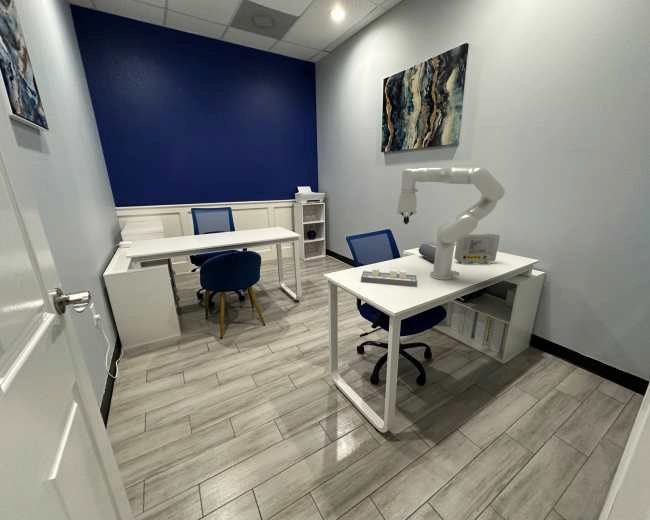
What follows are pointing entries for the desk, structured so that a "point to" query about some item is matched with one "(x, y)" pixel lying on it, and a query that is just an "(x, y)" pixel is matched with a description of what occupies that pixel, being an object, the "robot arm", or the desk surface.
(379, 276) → the switch console
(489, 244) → the network device
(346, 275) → the desk surface
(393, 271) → the slider middle
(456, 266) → the desk surface
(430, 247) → the bluetooth speaker
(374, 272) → the slider
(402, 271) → the slider
